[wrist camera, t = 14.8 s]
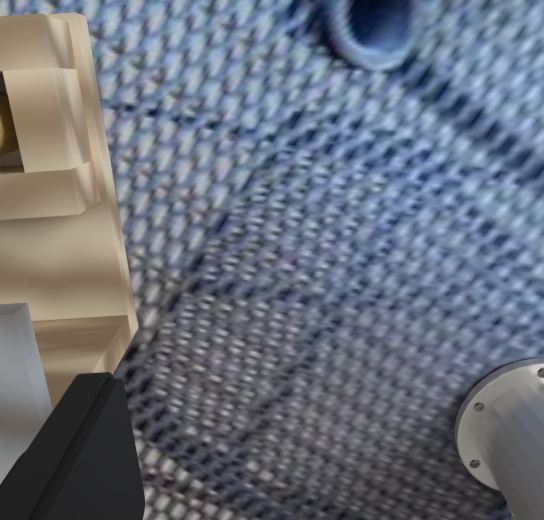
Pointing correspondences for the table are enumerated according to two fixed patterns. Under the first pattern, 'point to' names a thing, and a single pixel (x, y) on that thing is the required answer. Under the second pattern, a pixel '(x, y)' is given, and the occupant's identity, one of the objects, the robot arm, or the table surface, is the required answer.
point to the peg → (7, 126)
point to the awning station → (55, 228)
